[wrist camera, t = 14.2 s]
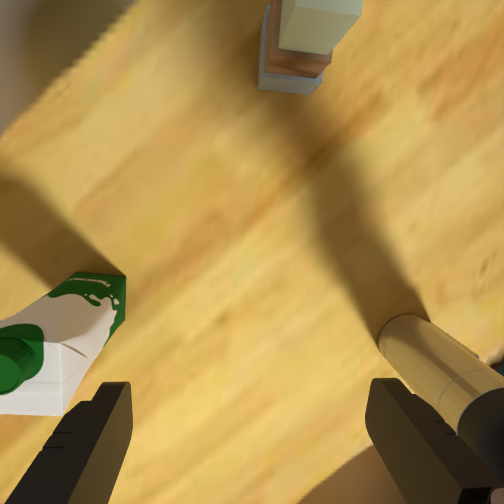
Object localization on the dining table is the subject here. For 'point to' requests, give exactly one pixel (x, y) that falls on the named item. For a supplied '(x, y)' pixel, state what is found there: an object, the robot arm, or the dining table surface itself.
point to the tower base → (276, 80)
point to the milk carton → (57, 342)
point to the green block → (316, 24)
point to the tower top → (290, 52)
